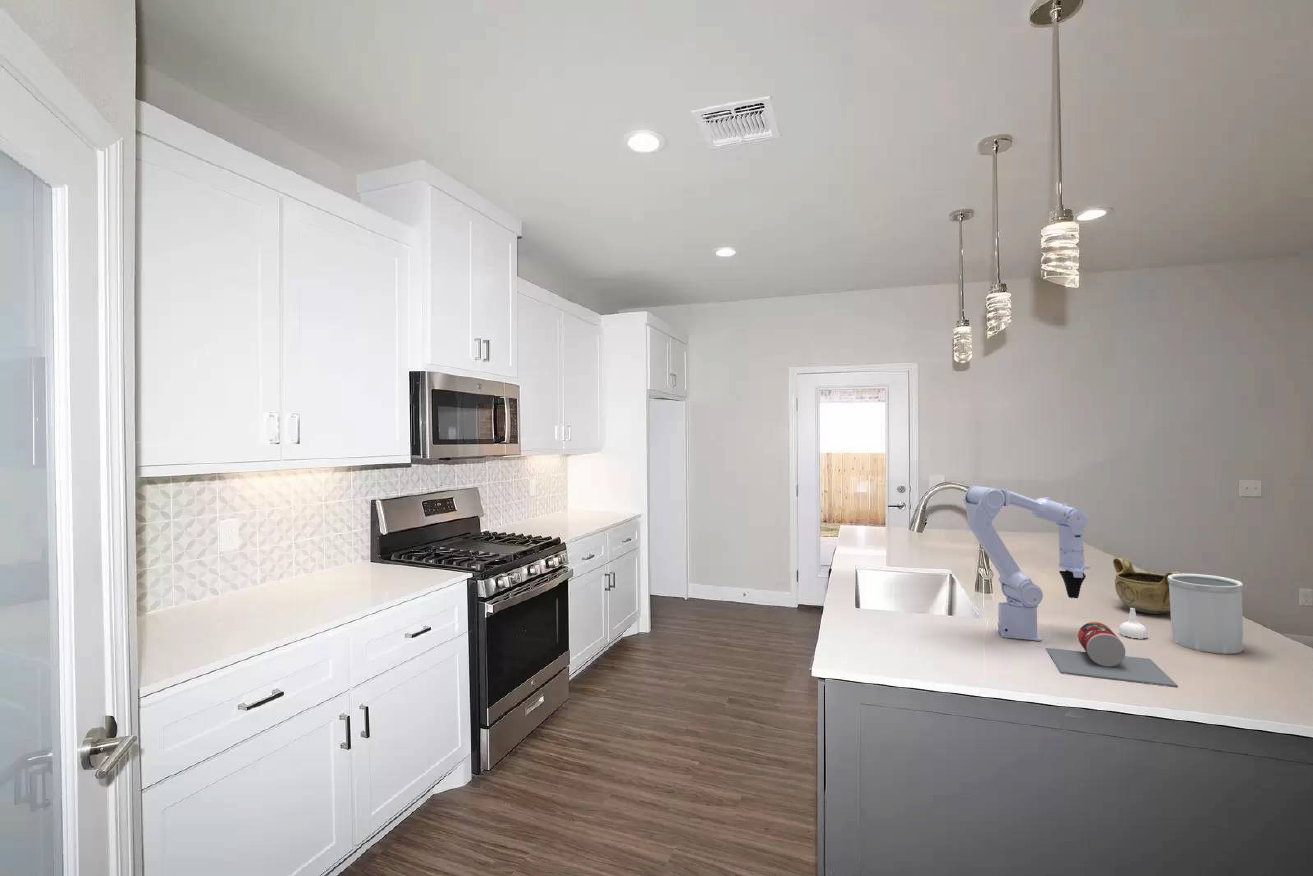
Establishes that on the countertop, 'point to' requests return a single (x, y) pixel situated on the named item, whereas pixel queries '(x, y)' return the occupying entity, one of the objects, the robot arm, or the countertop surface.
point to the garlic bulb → (1133, 627)
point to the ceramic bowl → (1142, 588)
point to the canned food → (1101, 644)
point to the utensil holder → (1206, 612)
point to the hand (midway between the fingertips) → (1073, 597)
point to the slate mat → (1110, 668)
